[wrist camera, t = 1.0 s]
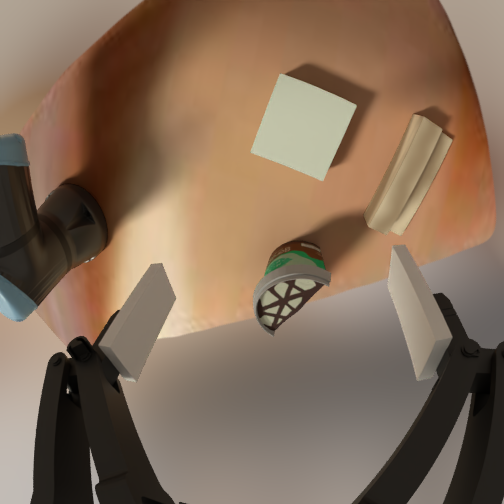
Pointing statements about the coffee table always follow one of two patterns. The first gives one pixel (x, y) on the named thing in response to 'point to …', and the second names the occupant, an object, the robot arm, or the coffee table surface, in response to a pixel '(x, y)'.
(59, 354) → the robot arm
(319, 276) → the food container
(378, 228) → the beige ridged bar
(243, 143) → the coffee table surface
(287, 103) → the block
